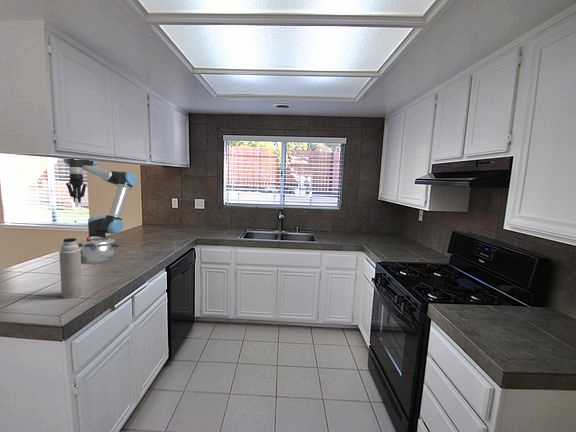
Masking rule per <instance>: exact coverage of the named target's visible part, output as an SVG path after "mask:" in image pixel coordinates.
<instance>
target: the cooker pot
mask: <svg viewBox="0 0 576 432" xmlns="http://www.w3.org/2000/svg"><path fill="white" fill-rule="evenodd" d="M76 244H77V245H78V246H79V248H81V249H82V251H81V252H82V253H81V254H82V263H83V264H86V265H101V264H107V263H111V262H114V260H115V248H119V247H120V243H115V242H114V243H112V244H108V245H101V246H93V247H85V245H82V244H81V243H80V242H79V243H76Z"/></svg>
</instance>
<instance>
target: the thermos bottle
mask: <svg viewBox="0 0 576 432" xmlns="http://www.w3.org/2000/svg"><path fill="white" fill-rule="evenodd" d="M77 244H78V243H77V238H74V237H71V238H64V239H63V245H61V247H60V250H59V265H60V266H59V267H60V269H59V270H60V271H59V272H60V289H61V291H60V292H61V298H63V299H74V298H77V297H80V296H82V294H83V282H82V261H81V260H82V257H81V256H82V255H81V254H82V253H81V252H82V251H81V249H80V247H79V246H78V245H77Z"/></svg>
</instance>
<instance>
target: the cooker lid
mask: <svg viewBox="0 0 576 432" xmlns="http://www.w3.org/2000/svg"><path fill="white" fill-rule="evenodd" d="M85 238H86V240H85V239H83V240H81V241H80V242H81V244H82V245H85V247H93V246H101V245H108V244H112V243H114V244H115V242H116V241H115V239H114V238H111V237H107V238H93V239H91V237H85Z"/></svg>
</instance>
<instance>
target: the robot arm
mask: <svg viewBox="0 0 576 432" xmlns="http://www.w3.org/2000/svg"><path fill="white" fill-rule="evenodd" d="M63 162H64V163H65V165H68V167H69V168H68V169H69V170H68V171H69V182H66V183H65V185H66V187H67V190H68V193H69V196H70V198H73V203H74V205H75V208H80V207H81V206H80V205H81V204H80V203H82V200H81V198H84V197H85V193H86V189H87V187H88V183H85V181H84V174H83V173H84V171H86V172H88V173H90V174H93V175H95V176H97V177H100V178H101V179H102V180H103V181H106V182H108V183H110V184H112V185H116V186H117V188H116V191H115V195H114V197H113V201H112V203H111V207H110V210H109V213H108V214H106V215H105V216H104V215H103V216H94V217H93V216H92V217H89V218H88V219H87V227H88V228H87V229H88V237H101V238H108V237H107V235H106V234H110V235H111V234H113V235H116V234H120V233H121V231H122V230H123V229H124V221H123V218H122V214H123V210H124V207H125V204H126V202H127V198H128V195H129V192H130V191H132V190H133V189H132V188H133V187H135V186H137V184H138V178H137V175H136V174H135V173H134V172H130V171H114V170H111V169H106V168H103V167H101V166H99V165H98V163H99V160H98V161H89V160H74V159H64V158H63Z"/></svg>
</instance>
